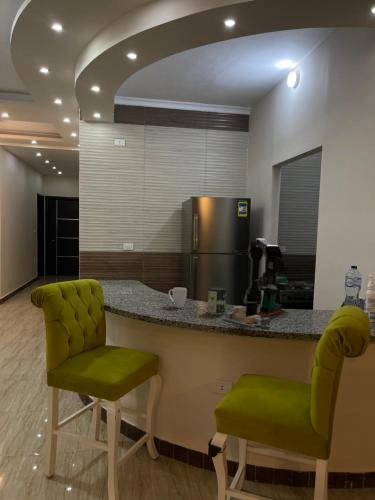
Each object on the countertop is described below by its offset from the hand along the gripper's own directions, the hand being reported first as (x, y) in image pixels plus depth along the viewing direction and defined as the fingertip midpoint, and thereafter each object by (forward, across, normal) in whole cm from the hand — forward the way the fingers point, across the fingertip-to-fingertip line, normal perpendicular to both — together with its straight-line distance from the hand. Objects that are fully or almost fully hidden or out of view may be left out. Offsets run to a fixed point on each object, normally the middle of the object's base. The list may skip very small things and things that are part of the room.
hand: (269, 302), depth 179 cm
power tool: (+12, -22, +39) cm, 46 cm away
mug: (+12, -63, -5) cm, 64 cm away
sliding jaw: (+11, -6, +1) cm, 13 cm away
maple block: (+11, -19, 0) cm, 22 cm away
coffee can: (+12, -38, +4) cm, 40 cm away
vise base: (+12, -16, 0) cm, 20 cm away
